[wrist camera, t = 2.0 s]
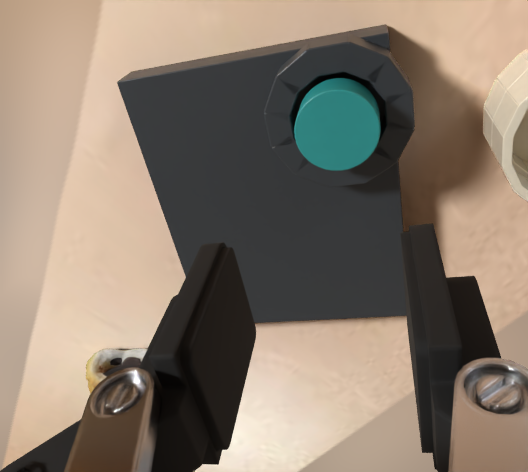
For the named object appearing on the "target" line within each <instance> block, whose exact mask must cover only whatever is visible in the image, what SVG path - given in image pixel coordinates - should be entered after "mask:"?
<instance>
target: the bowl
mask: <svg viewBox="0 0 528 472" xmlns="http://www.w3.org/2000/svg"><path fill="white" fill-rule="evenodd" d="M483 133H484V136H485V139H486V141H487V143H488V145H489V147H490V149H491V151H492V153H493V155H494V157H495V159H496V160H497V162H498V164H499V166H500V168H501V170H502V171H503V173H504V175H505V177H506V179H507V181H508V182H509V184H510V186H511V188H512V190H513V191H514V192H515V193H516V194H518V195H519V196H520V197H522V198H523V199H524V200H526V201H527V202H528V49H526V50H524V51H522V52H521V54H518V55H517V56H516V57H515V59H514V60H513V61H512V62H511V63H510V64H509V65H508V66H507V67H506V68H505V69H504V70H503V71H502V72H501V73H500V74H499V75H498V76H497V79H495V81H494V84H493V86H492V88H491V90H490V92H489V95H488V97H487V99H486V101H485V104H484V107H483Z"/></svg>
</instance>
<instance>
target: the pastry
mask: <svg viewBox="0 0 528 472" xmlns="http://www.w3.org/2000/svg"><path fill="white" fill-rule="evenodd" d="M146 351H147V348H140V349H130V350H117V349H103V350H101V351H99V352H97V353H95V354H94V355H93V356H92V357H91V358H90V359H89V360H88V362H87V364H86V370H87V371H86V379H87V380H88V388H89V391H90V393H91V392H92V390H93V389H94V388H95V387H96V386H97V385H98V383H99V382H101V381H102V380H103V379H105V378H106V377H107V376H109V375H111V374H113V373H114V372H116V371H119V370H122V369H126V368H136V367H137V368H139V366H140V364H141V362H142V360H143V357H144V355H145V353H146Z"/></svg>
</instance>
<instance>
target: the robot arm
mask: <svg viewBox="0 0 528 472" xmlns="http://www.w3.org/2000/svg"><path fill="white" fill-rule="evenodd" d="M400 237H401V250H402V263H403V275H404V288H405V301H406V314H407V326H408V335H409V344H410V352H411V361H412V370H413V378H414V387H415V395H416V403H417V413H418V421H419V430H420V438H421V447H422V453H433V459H434V467H435V469H437V471H438V472H528V369H527V368H526V367H524V366H522V365H520V364H517V363H515V362H513V361H510V360H505V359H501V356H500V353H499V349H498V346H497V343H496V340H495V337H494V334H493V330H492V327H491V324H490V321H489V318H488V315H487V312H486V308H485V305H484V302H483V299H482V296H481V293H480V290H479V286H478V283H477V280H476V278H475V277H474V276H466V277H450V278H446V276H445V272H444V267H443V263H442V259H441V255H440V250H439V246H438V242H437V238H436V233H435V229H434V225H433V224H422V225H411V226H409V232H400ZM255 338H256V327H255V323H254V319H253V316H252V312H251V309H250V305H249V302H248V298H247V295H246V291H245V288H244V284H243V280H242V277H241V273H240V270H239V266H238V263H237V259H236V256H235V252H234V250H233V248H232V247H228V248H227V246H226V245H225V243H223V242H222V243H211V244H203V245H202V246H201V247H200V249H199V251H198V253H197V255H196V258H195V260H194V262H193V264H192V266H191V268H190V270H189V272H188V275H187V277H186V279H185V281H184V283H183V285H182V287H181V289H180V292H179V294H178V295H176V296H174V297H173V298H172V300H171V301H170V304H169V306H168V308H167V310H166V312H165V314H164V316H163V318H162V320H161V322H160V324H159V326H158V328H157V331H156V333H155V335H154V337H153V339H152V341H151V343H150V345H149V347H148V349H147V351H146V353H145V355H144V357H143V360H142V362H141V364H140V366H139V368H137V367H136V368H126V369H122V370H119V371H116V372H114V373H113V374H111V375H109V376H107V377H106V378H105V379H103V380H102V381H101V382H99V383H98V385H97V386H96V387H95V388H94V389H93V390H92V392H91V394H90V396H89V398H88V401H87V404H86V407H85V410H84V413H83V416H82V419H81V420H79V421H78V422H76V423H75V424H73V425H71V426H70V427H68V428H67V429H65V430H63V431H62V432H60V433H59V434H57V435H55V436H54V437H52V438H51V439H49V440H47V441H46V442H44V443H43V444H41V445H40V446H38V447H36V448H35V449H33V450H32V451H30V452H28V453H27V454H25V455H24V456H22V457H20V458H19V459H17V460H16V461H14V462H13V463H11V464H9V465H8V466H6V467H5V468H4V469H2V470H1V471H0V472H195V470H196V469H197V468H199V467H200V466H201V465H202V464H219V460H220V456H221V452H222V450H227V449H228V448H229V446H230V442H231V438H232V434H233V430H234V426H235V422H236V417H237V413H238V409H239V405H240V401H241V397H242V393H243V388H244V384H245V380H246V376H247V372H248V368H249V364H250V360H251V355H252V351H253V347H254V343H255Z"/></svg>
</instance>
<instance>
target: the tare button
mask: <svg viewBox="0 0 528 472" xmlns="http://www.w3.org/2000/svg"><path fill="white" fill-rule="evenodd" d="M380 132H381V127H380V116H379V109H378V105H377V102H376V100H375V98H374V96H373V95H372V93H371V92H370V91H369V90H368V89H367V88H366V87H365V86H363V85H362V84H360V83H358V82H356V81H354V80H351V79H346V78H334V79H329V80H326V81H323V82H321V83H319V84H317V85H316V86H314V87H313V88H312V89H311V90H310V91H309V92H308V93H307V94H306V95H305V97H304V98H303V100H302V102H301V105H300V108H299V111H298V115H297V118H296V121H295V127H294V134H295V140H296V144H297V146H298V148H299V150H300V152H301V153H302V154H303V156H304V157H305V158H306V159H307V160H308V161H310V162H311V163H312V164H314V165H316V166H318V167H320V168H323V169H326V170H331V171H342V170H348V169H351V168H354V167H356V166H358V165H360V164H361V163H363V162H364V161H365V160H367V159H368V158H369V157H370V156H371V154H372V153H373V152H374V150H375V148H376V147H377V144H378V142H379V138H380Z"/></svg>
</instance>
